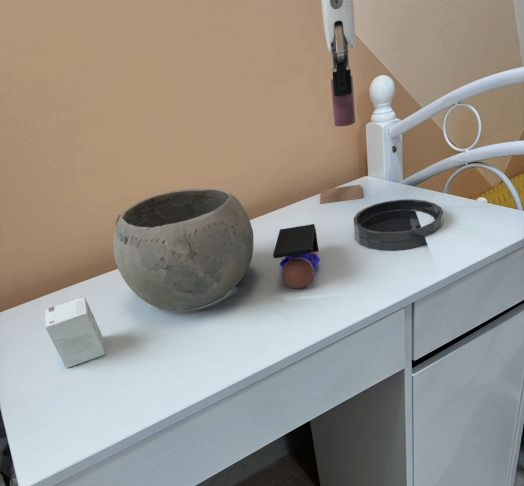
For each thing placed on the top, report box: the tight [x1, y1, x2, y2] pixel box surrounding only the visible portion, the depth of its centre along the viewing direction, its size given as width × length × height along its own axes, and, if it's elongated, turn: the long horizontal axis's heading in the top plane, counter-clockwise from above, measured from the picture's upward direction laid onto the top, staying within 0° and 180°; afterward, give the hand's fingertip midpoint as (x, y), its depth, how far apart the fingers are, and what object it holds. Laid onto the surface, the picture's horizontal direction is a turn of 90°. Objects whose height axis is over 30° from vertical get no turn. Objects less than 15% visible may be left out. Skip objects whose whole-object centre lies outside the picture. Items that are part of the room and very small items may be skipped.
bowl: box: [112, 187, 255, 311], centre depth 82 cm, size 23×23×15 cm
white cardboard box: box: [44, 296, 106, 369], centre depth 73 cm, size 6×6×7 cm
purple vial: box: [330, 66, 356, 128], centre depth 93 cm, size 4×4×11 cm
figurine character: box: [272, 223, 320, 290], centre depth 82 cm, size 7×8×15 cm
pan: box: [353, 198, 445, 251], centre depth 88 cm, size 15×15×4 cm
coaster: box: [319, 184, 363, 205], centre depth 110 cm, size 9×9×1 cm
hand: (342, 91), depth 93 cm, fingers closed on purple vial, 4 cm apart
